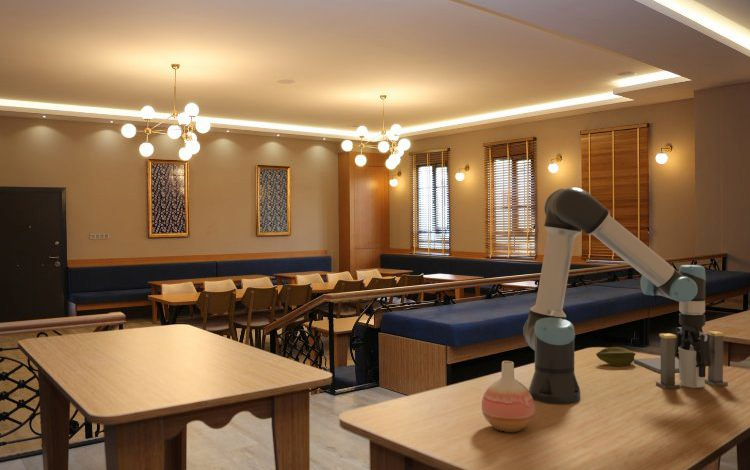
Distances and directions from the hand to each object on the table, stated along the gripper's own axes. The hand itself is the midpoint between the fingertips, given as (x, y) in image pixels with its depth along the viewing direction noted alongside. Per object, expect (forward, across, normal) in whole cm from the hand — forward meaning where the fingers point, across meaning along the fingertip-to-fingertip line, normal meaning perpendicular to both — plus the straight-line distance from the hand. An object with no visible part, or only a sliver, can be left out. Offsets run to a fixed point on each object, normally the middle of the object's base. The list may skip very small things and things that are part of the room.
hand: (691, 383), depth 203 cm
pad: (+1, +24, -7) cm, 25 cm away
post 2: (+1, 0, -8) cm, 9 cm away
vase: (+1, -28, +73) cm, 78 cm away
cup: (+1, 0, 0) cm, 1 cm away
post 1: (+1, 0, +8) cm, 9 cm away
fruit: (+1, +30, +9) cm, 32 cm away
